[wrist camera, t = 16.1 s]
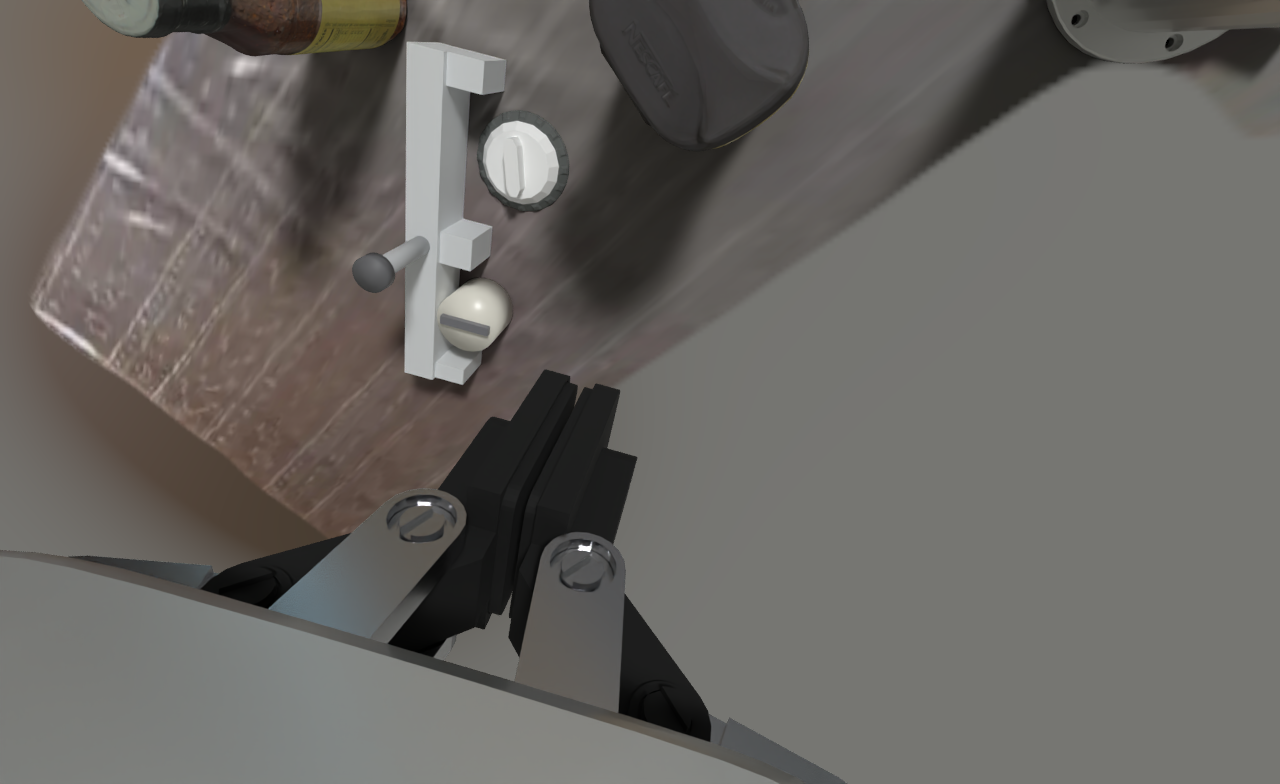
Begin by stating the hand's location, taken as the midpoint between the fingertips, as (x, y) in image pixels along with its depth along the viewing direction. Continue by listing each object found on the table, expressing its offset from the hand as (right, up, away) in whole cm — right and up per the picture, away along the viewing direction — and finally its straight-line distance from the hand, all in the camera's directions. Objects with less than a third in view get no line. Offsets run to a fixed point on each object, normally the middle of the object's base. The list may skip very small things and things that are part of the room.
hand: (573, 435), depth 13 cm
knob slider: (-12, +8, +39) cm, 41 cm away
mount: (-13, +15, +35) cm, 40 cm away
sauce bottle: (-17, +28, +28) cm, 44 cm away
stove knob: (-7, +19, +33) cm, 38 cm away
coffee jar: (+7, +24, +26) cm, 36 cm away
